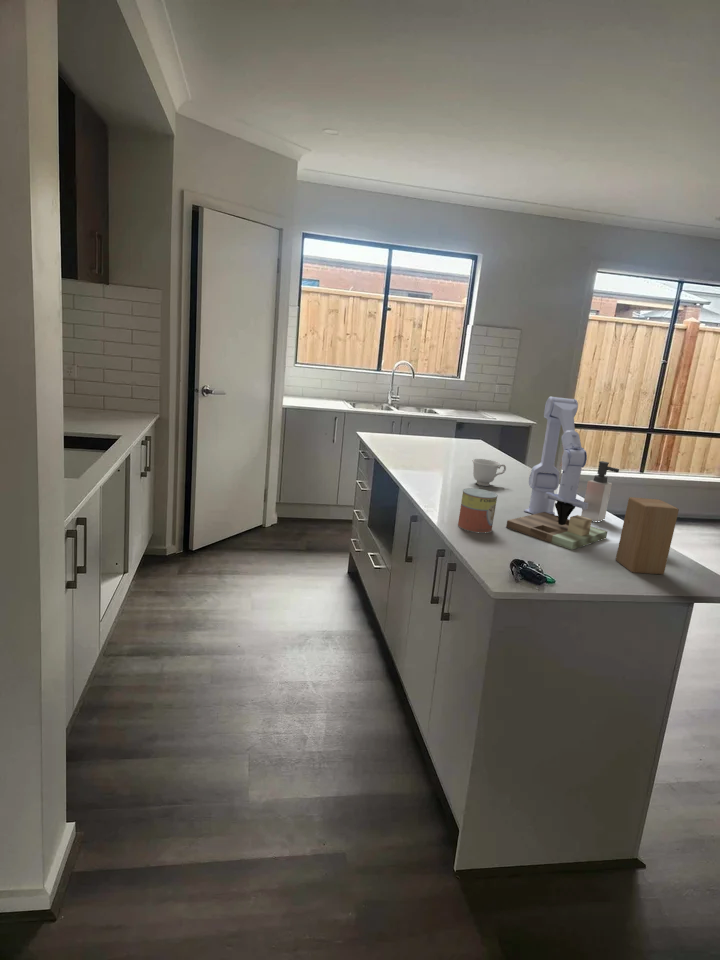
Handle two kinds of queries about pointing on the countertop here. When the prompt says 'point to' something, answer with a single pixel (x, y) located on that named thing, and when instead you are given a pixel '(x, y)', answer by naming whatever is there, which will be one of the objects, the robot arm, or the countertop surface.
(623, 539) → the wooden block
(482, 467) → the teacup
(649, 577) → the countertop surface
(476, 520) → the canned food
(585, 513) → the soap dispenser
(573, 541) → the trap board
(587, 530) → the maple cube
